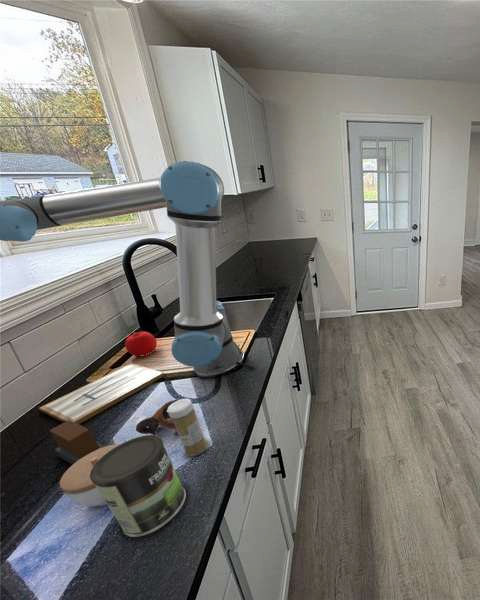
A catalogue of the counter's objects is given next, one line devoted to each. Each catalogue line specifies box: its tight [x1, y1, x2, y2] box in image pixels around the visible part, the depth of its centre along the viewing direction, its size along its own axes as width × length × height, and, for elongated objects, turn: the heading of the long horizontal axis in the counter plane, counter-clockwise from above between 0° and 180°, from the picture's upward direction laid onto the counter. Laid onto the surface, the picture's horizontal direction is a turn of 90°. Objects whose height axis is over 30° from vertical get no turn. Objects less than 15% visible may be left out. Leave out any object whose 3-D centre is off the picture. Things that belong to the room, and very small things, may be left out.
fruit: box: [124, 331, 158, 358], centre depth 117 cm, size 9×9×10 cm
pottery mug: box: [135, 398, 196, 437], centre depth 80 cm, size 12×10×8 cm
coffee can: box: [90, 434, 187, 538], centre depth 59 cm, size 10×10×14 cm
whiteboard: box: [38, 362, 165, 425], centre depth 97 cm, size 18×24×2 cm
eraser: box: [49, 420, 106, 466], centre depth 73 cm, size 11×5×8 cm, turn 67°
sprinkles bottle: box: [167, 398, 208, 457], centre depth 72 cm, size 5×5×13 cm
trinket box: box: [59, 443, 121, 508], centre depth 64 cm, size 11×11×9 cm
